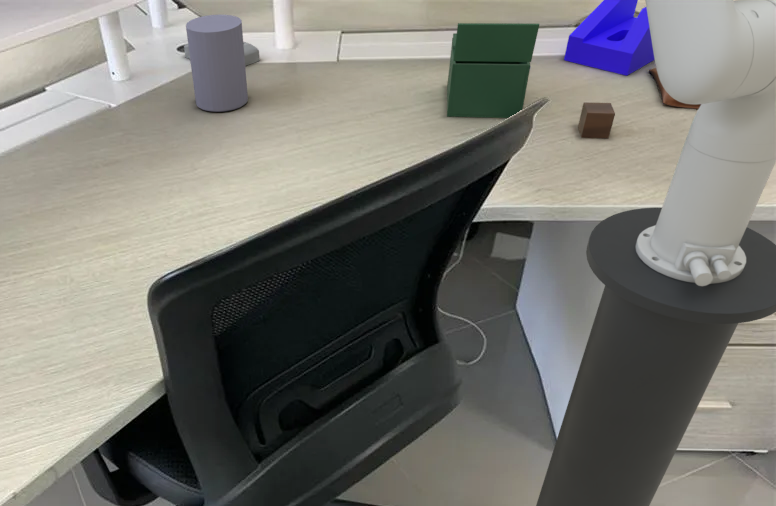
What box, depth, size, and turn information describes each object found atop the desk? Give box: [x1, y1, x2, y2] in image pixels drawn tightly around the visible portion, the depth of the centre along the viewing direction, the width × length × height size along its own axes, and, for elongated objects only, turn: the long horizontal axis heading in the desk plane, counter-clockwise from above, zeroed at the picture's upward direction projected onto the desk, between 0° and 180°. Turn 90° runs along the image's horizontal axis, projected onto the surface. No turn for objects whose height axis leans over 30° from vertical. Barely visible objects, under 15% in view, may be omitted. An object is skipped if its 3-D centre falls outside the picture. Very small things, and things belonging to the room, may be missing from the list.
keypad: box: [183, 41, 261, 67], centre depth 156 cm, size 10×4×15 cm
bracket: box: [563, 0, 655, 77], centre depth 144 cm, size 21×14×10 cm, turn 132°
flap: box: [453, 22, 540, 63], centre depth 118 cm, size 7×13×1 cm
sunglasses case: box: [648, 67, 701, 110], centre depth 131 cm, size 18×7×7 cm
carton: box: [446, 32, 531, 119], centre depth 129 cm, size 14×13×10 cm
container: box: [185, 14, 249, 113], centre depth 134 cm, size 10×10×15 cm
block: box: [577, 101, 616, 139], centre depth 119 cm, size 4×4×4 cm
